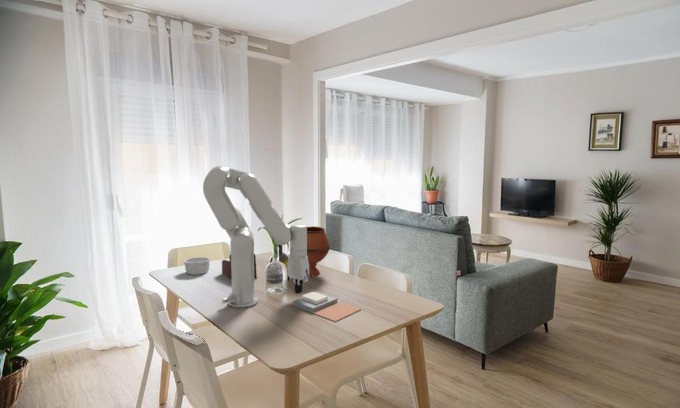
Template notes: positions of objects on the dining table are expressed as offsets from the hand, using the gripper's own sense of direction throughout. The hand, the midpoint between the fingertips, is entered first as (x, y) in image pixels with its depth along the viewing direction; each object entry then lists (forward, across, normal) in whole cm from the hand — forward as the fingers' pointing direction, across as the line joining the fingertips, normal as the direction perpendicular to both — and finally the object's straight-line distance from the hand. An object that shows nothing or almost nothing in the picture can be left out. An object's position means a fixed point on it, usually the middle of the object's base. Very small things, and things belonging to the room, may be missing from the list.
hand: (298, 292), depth 173 cm
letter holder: (+3, -47, +2) cm, 47 cm away
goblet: (+3, -22, +30) cm, 38 cm away
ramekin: (+3, -70, -9) cm, 71 cm away
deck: (+3, +10, 0) cm, 11 cm away
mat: (+3, +23, 0) cm, 23 cm away
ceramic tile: (0, +10, 0) cm, 10 cm away
